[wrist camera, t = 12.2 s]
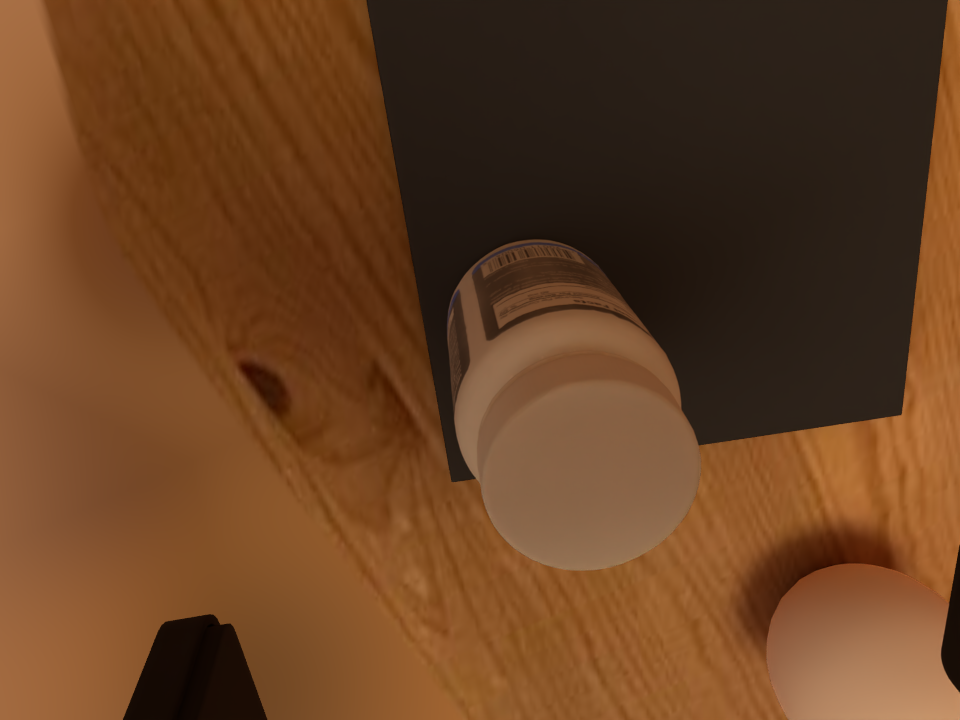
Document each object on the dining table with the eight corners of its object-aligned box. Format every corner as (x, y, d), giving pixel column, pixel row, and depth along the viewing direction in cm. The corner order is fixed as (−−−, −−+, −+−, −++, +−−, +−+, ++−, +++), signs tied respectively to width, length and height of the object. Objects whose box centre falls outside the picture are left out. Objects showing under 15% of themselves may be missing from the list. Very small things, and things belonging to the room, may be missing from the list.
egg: (940, 573, 26) (1125, 769, 19) (814, 681, 28) (942, 897, 21) (825, 491, 25) (982, 673, 18) (698, 612, 26) (796, 821, 19)
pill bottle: (550, 420, 22) (615, 626, 15) (414, 343, 21) (408, 523, 13) (649, 292, 21) (778, 446, 13) (510, 200, 20) (564, 312, 12)
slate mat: (451, 476, 23) (451, 483, 23) (363, -25, 18) (361, -26, 17) (894, 409, 23) (902, 415, 23) (950, -111, 18) (961, -114, 17)
